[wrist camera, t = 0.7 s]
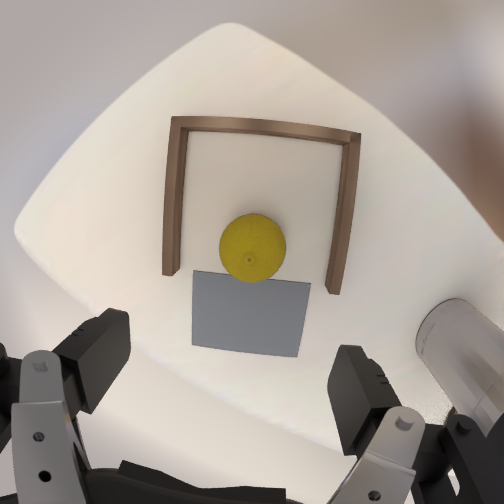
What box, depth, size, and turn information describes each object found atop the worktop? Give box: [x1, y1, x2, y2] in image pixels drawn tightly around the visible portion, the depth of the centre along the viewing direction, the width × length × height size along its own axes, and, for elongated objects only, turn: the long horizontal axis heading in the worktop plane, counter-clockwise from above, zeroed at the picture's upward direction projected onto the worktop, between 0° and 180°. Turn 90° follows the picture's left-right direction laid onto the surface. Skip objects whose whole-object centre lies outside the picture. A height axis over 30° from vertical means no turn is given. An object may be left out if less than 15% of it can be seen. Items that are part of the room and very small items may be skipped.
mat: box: [192, 271, 311, 357], centre depth 30 cm, size 12×9×1 cm
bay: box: [162, 116, 361, 295], centre depth 26 cm, size 17×15×2 cm
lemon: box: [219, 214, 286, 283], centre depth 24 cm, size 6×6×8 cm
